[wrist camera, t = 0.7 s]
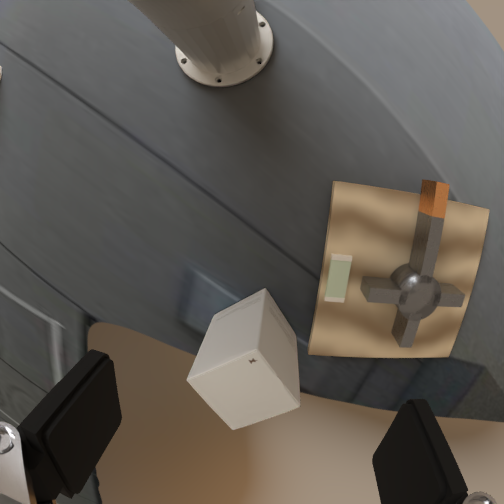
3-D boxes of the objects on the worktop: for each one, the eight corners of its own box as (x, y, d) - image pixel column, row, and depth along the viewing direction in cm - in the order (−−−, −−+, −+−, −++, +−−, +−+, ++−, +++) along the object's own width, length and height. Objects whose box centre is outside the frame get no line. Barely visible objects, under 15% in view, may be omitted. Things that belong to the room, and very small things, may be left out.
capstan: (376, 170, 35) (389, 172, 30) (467, 189, 34) (486, 193, 29) (349, 327, 41) (356, 346, 36) (434, 330, 40) (447, 347, 35)
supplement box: (211, 314, 44) (182, 379, 29) (266, 285, 42) (257, 347, 27) (245, 360, 45) (231, 432, 31) (298, 336, 44) (302, 408, 29)
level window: (331, 253, 38) (332, 255, 38) (351, 255, 38) (352, 257, 37) (323, 298, 40) (324, 301, 39) (343, 300, 40) (343, 302, 39)
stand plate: (333, 180, 37) (335, 181, 36) (484, 208, 36) (490, 210, 34) (307, 348, 44) (308, 355, 42) (445, 352, 42) (449, 357, 41)
